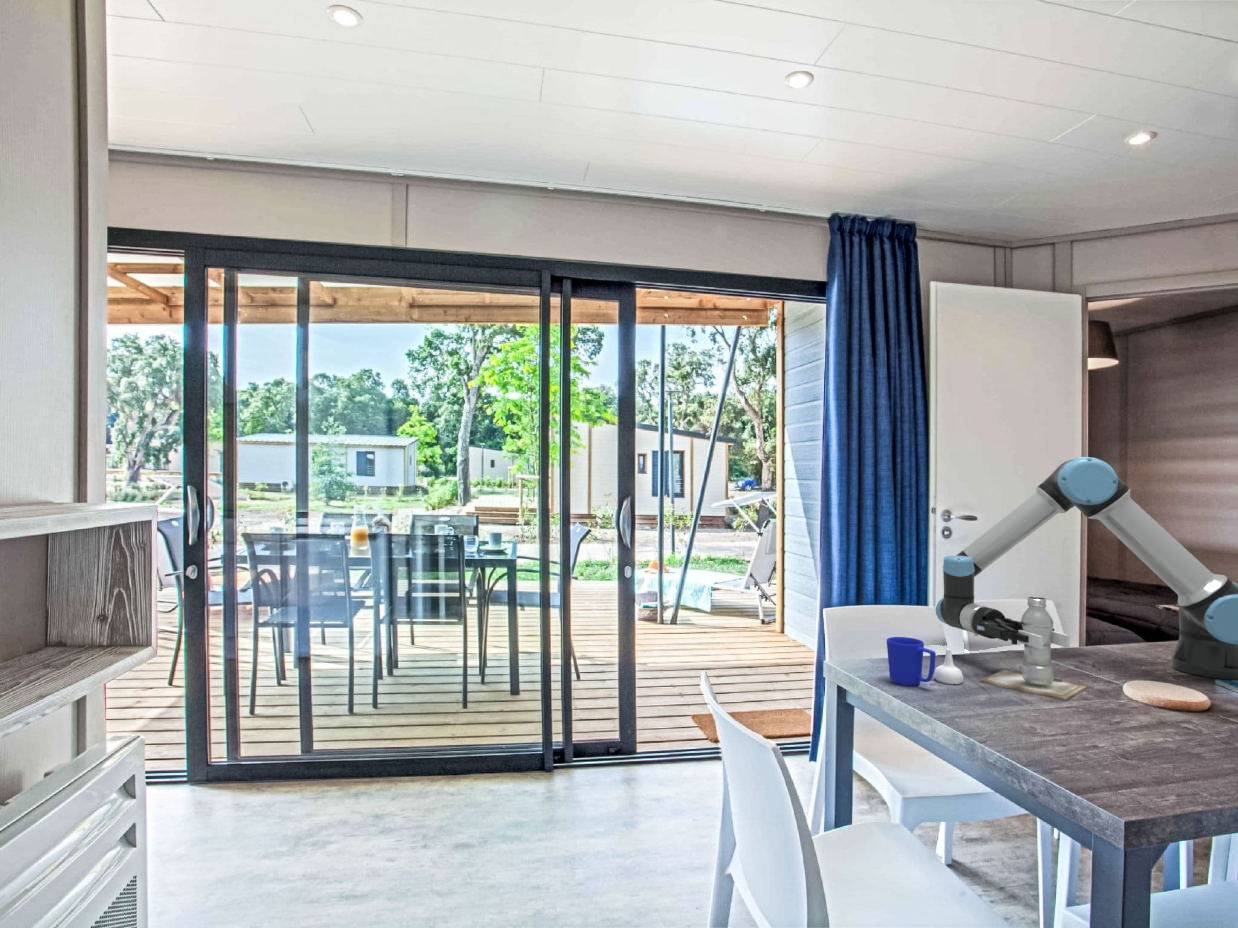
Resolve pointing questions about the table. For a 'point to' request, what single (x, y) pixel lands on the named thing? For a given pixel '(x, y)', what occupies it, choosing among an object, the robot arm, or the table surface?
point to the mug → (908, 660)
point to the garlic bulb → (948, 671)
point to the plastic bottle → (1035, 659)
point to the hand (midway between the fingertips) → (1054, 641)
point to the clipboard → (1017, 682)
